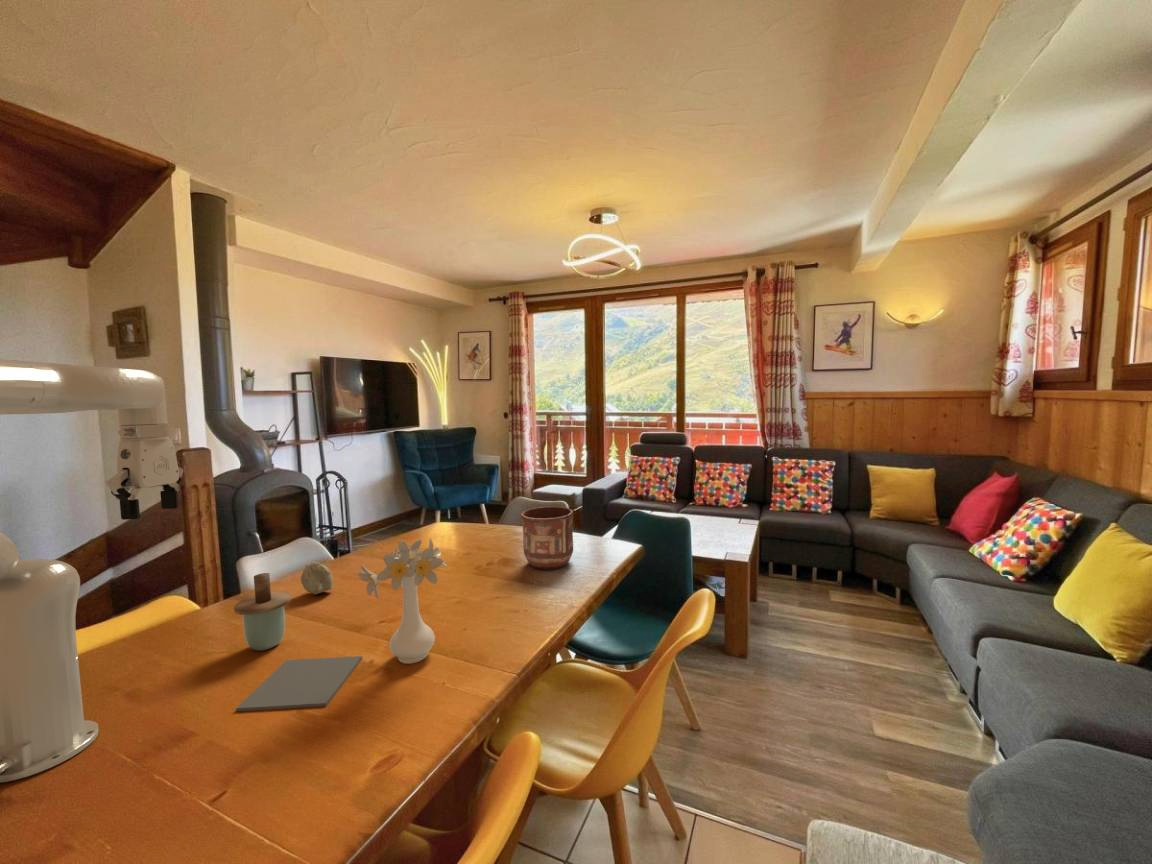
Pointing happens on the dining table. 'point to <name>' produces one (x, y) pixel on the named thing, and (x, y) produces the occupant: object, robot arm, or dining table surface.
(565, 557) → the pottery
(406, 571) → the flower vase
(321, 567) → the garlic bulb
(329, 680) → the mat
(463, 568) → the dining table surface
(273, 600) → the lid
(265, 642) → the cup
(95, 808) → the dining table surface
